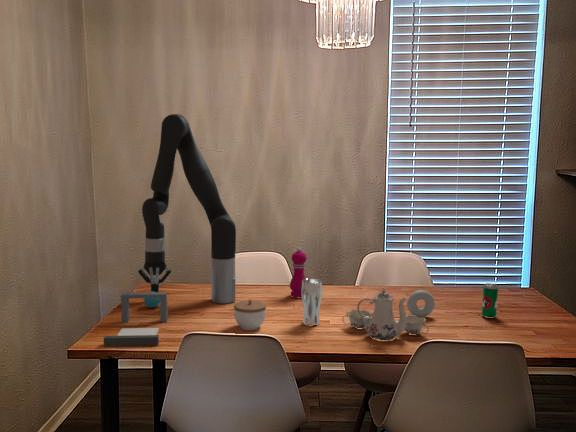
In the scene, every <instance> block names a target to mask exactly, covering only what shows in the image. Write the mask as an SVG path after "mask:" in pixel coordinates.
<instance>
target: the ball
mask: <svg viewBox="0 0 576 432" xmlns="http://www.w3.org/2000/svg"><path fill="white" fill-rule="evenodd" d="M152 292H153V291H152ZM143 301H144V302H143V303H144V304H145V306H146V307H148V308H152V309H153V308H156V307H158V306H160V298H143Z"/></svg>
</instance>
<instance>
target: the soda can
mask: <svg viewBox="0 0 576 432" xmlns="http://www.w3.org/2000/svg"><path fill="white" fill-rule="evenodd" d="M498 298H499V287H498V284H495V283H492V282H491V283H490V282H489V283H484V285H483V287H482V301H481V304H482V305H481V316H482V315H484V316H487V317H495V316H497V315H498V314H497V313H498V300H499V299H498Z"/></svg>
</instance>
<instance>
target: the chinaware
mask: <svg viewBox="0 0 576 432" xmlns="http://www.w3.org/2000/svg"><path fill="white" fill-rule="evenodd" d="M394 299H395V297H394V296H393V295H390V293H389V292H387V290H386V288H383V289H382V290H381V291H380V292H379V293H378V294H375V295H373V298H371V297H365V298H363V299H361V300H360V301H358V303H357V306H356V307H357V308H356V309H351V310H350V311H347V312H345V313H346V314H345V315H343V316H342V323H344V324H345V325H350V327H351V326H352V327H353V326H354V328H355V327H357V328H363V327H364V330H365V331H366V333H367V334H368V335H369V336H371V337H372V338H375V339H380V340H390V339H393V338H396V337H398V335H400V334H402V333H403V332H404V331H405V332H406V333H411V334H421V335H427V334H428V333H429V326H428V325H427V324H426V323H427V321H426V320H427V319H426V317H417V316H416V315H412V314H409V315H407V314H406V311H405V306H404V304H405V301H407V298H406V297H403V298H402V299H400V300H399V303H398V314H399V316H398V317H399V319H398V320H396V319H395V316H394V313H393V304H394V303H393V302H394ZM364 301H369V303H368V304H370V305H372V304H374V308H373V313H371V312H370V311H369V310H367V309H362V310H360V305H361V303H362V302H364ZM345 317H346V318H348V319H349V322H348V323H347V322H345V321H344V319H345ZM424 327H426V328H427V331H426V332H423V331H422V330H423V328H424Z"/></svg>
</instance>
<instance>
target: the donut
mask: <svg viewBox="0 0 576 432" xmlns="http://www.w3.org/2000/svg"><path fill="white" fill-rule="evenodd" d="M420 300H422V301H424V306H423V307H418V301H420ZM435 305H436V303H435V298H434V296H433V295H432V293H430V292H429V291H427V290H423V289H418V290H415V291H413V292H412V293H411V294H409V296H408V298H407V300H406V307H407V310H408V312H409V313H410V315H416V316H417V317H424V318H426V317H428V316H429V315H431V313H433V311H434V310H435ZM425 316H426V317H425Z"/></svg>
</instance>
